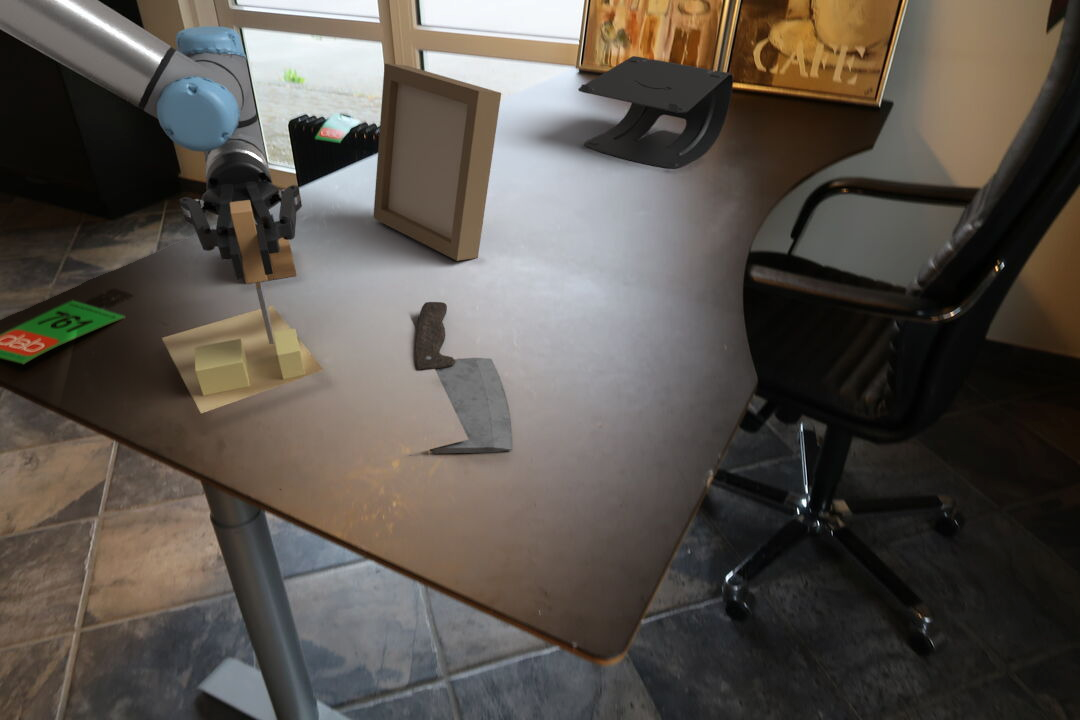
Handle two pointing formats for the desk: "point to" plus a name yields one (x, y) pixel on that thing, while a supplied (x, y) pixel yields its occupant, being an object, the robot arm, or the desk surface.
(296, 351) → the block
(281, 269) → the knife block
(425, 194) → the photo frame
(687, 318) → the desk surface
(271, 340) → the knife
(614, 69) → the laptop stand
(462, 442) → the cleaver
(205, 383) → the butter
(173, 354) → the board
